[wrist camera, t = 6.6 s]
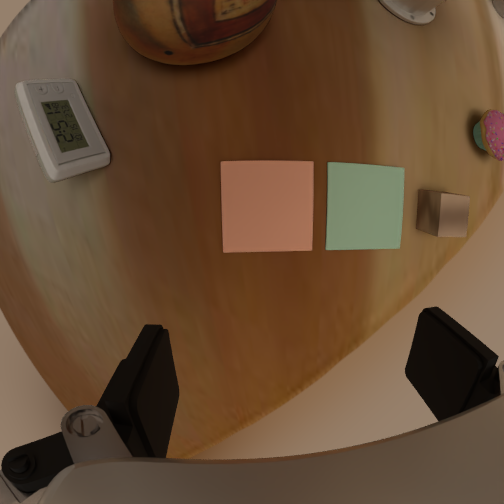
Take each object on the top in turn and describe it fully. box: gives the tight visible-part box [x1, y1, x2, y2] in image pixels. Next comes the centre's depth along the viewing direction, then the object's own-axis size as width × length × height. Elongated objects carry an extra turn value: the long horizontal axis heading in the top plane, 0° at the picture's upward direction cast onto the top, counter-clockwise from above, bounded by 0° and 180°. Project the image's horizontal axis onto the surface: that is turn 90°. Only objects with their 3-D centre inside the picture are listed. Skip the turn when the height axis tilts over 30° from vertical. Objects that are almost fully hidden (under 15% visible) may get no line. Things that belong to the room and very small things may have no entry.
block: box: [416, 190, 470, 237], centre depth 37 cm, size 6×6×6 cm
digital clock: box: [15, 79, 110, 183], centre depth 29 cm, size 16×9×11 cm, turn 17°
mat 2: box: [325, 162, 404, 250], centre depth 39 cm, size 12×12×1 cm
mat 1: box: [221, 161, 314, 252], centre depth 38 cm, size 12×12×1 cm
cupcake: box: [473, 109, 504, 161], centre depth 31 cm, size 9×8×12 cm
